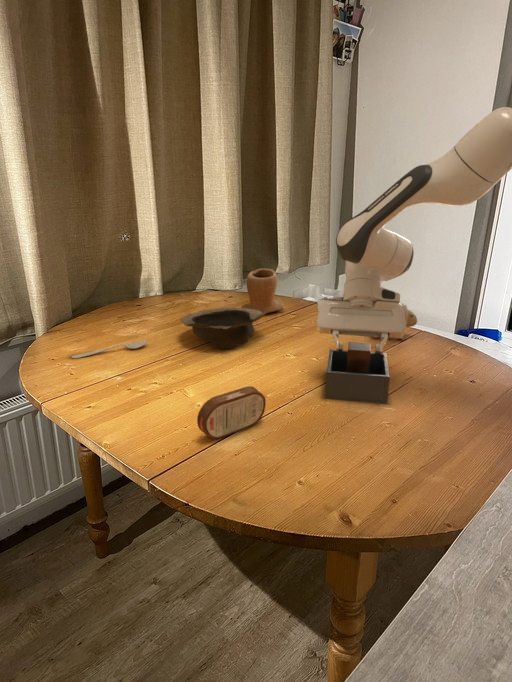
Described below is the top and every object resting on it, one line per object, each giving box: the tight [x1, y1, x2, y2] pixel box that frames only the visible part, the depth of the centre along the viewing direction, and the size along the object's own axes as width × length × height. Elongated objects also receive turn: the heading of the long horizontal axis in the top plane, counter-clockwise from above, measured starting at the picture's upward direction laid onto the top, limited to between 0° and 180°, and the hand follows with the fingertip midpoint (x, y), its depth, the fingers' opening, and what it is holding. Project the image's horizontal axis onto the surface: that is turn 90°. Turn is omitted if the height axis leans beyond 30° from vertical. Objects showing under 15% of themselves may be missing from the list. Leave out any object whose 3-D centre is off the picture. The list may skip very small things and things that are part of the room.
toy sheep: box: [373, 303, 418, 341], centre depth 148 cm, size 11×17×11 cm, turn 84°
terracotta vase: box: [240, 267, 285, 314], centre depth 169 cm, size 15×12×15 cm
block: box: [346, 341, 372, 374], centre depth 116 cm, size 5×5×10 cm
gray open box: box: [324, 349, 390, 405], centre depth 117 cm, size 14×14×7 cm
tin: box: [196, 385, 267, 439], centre depth 99 cm, size 15×3×8 cm, turn 126°
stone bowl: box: [180, 307, 268, 350], centre depth 147 cm, size 25×25×9 cm
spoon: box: [71, 340, 148, 359], centre depth 138 cm, size 4×21×2 cm, turn 114°
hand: (358, 351), depth 114 cm, fingers open, 7 cm apart
